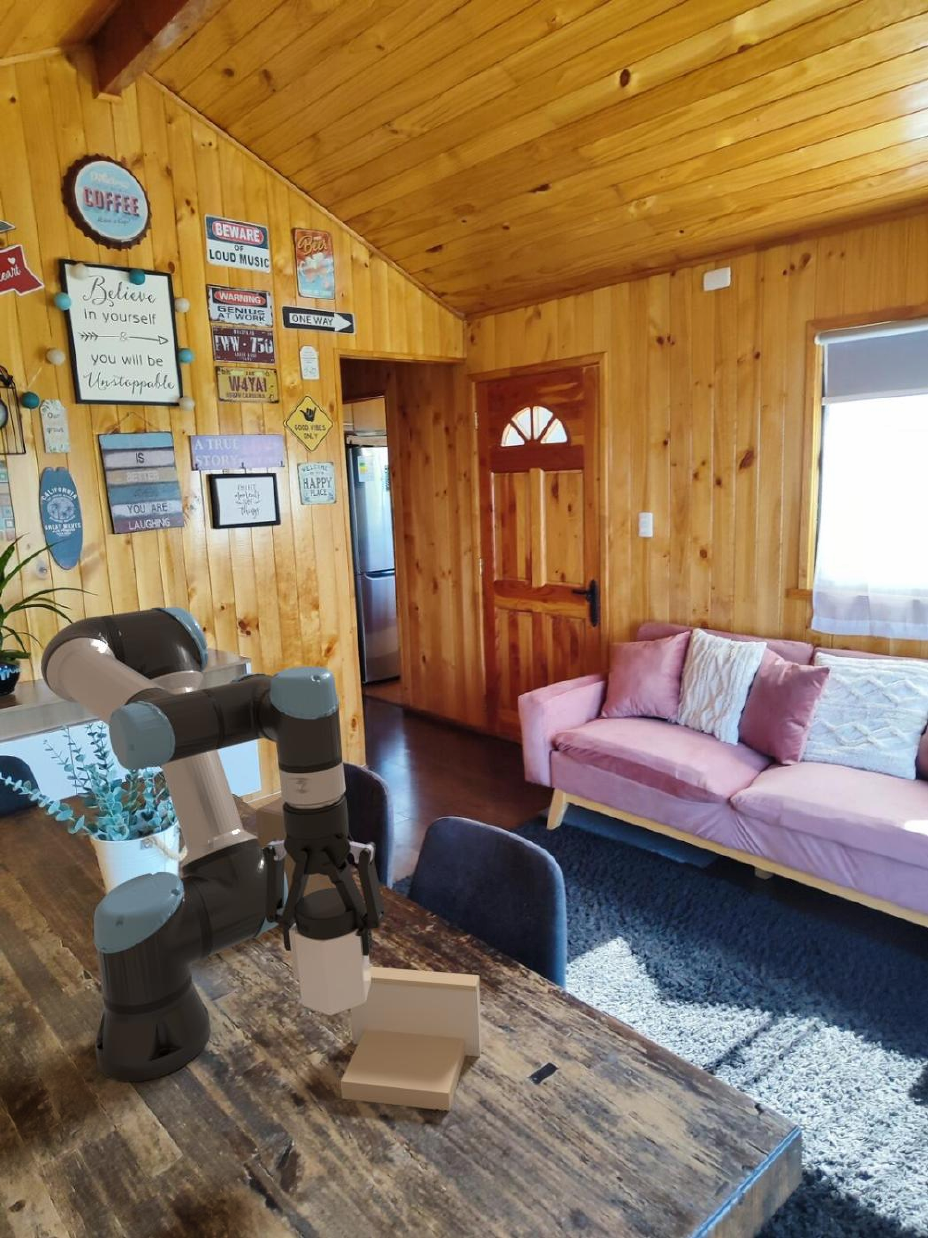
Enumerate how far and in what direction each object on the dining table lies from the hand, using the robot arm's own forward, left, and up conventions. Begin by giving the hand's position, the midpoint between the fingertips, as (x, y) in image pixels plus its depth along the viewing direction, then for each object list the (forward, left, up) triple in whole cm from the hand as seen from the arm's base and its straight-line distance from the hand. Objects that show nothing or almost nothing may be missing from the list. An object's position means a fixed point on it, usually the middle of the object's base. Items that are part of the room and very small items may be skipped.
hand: (331, 975), depth 101 cm
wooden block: (-24, +45, -18) cm, 54 cm away
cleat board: (+7, +6, -17) cm, 20 cm away
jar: (+1, 0, -3) cm, 3 cm away
